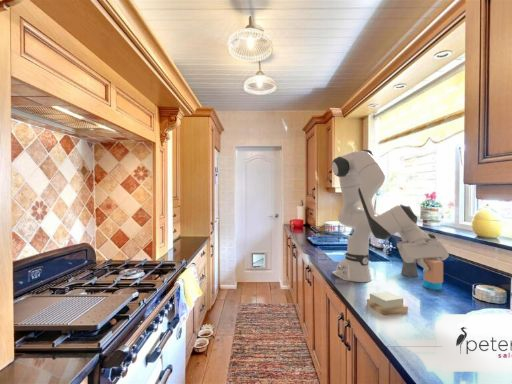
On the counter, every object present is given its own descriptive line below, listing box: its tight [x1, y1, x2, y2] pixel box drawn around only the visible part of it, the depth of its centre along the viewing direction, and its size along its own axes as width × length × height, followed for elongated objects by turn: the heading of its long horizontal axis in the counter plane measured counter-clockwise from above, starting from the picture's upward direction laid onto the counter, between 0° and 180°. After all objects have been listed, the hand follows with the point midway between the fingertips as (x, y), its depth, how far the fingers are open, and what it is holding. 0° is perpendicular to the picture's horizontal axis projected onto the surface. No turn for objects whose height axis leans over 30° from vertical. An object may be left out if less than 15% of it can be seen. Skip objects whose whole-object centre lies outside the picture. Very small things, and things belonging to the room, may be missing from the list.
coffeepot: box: [397, 248, 419, 278], centre depth 175 cm, size 15×9×18 cm, turn 90°
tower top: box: [369, 290, 404, 308], centre depth 122 cm, size 9×9×3 cm
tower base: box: [366, 298, 409, 316], centre depth 123 cm, size 11×11×3 cm
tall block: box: [423, 259, 444, 284], centre depth 116 cm, size 4×4×8 cm
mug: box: [422, 269, 443, 291], centre depth 151 cm, size 12×8×8 cm
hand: (434, 269), depth 115 cm, fingers closed on tall block, 4 cm apart
